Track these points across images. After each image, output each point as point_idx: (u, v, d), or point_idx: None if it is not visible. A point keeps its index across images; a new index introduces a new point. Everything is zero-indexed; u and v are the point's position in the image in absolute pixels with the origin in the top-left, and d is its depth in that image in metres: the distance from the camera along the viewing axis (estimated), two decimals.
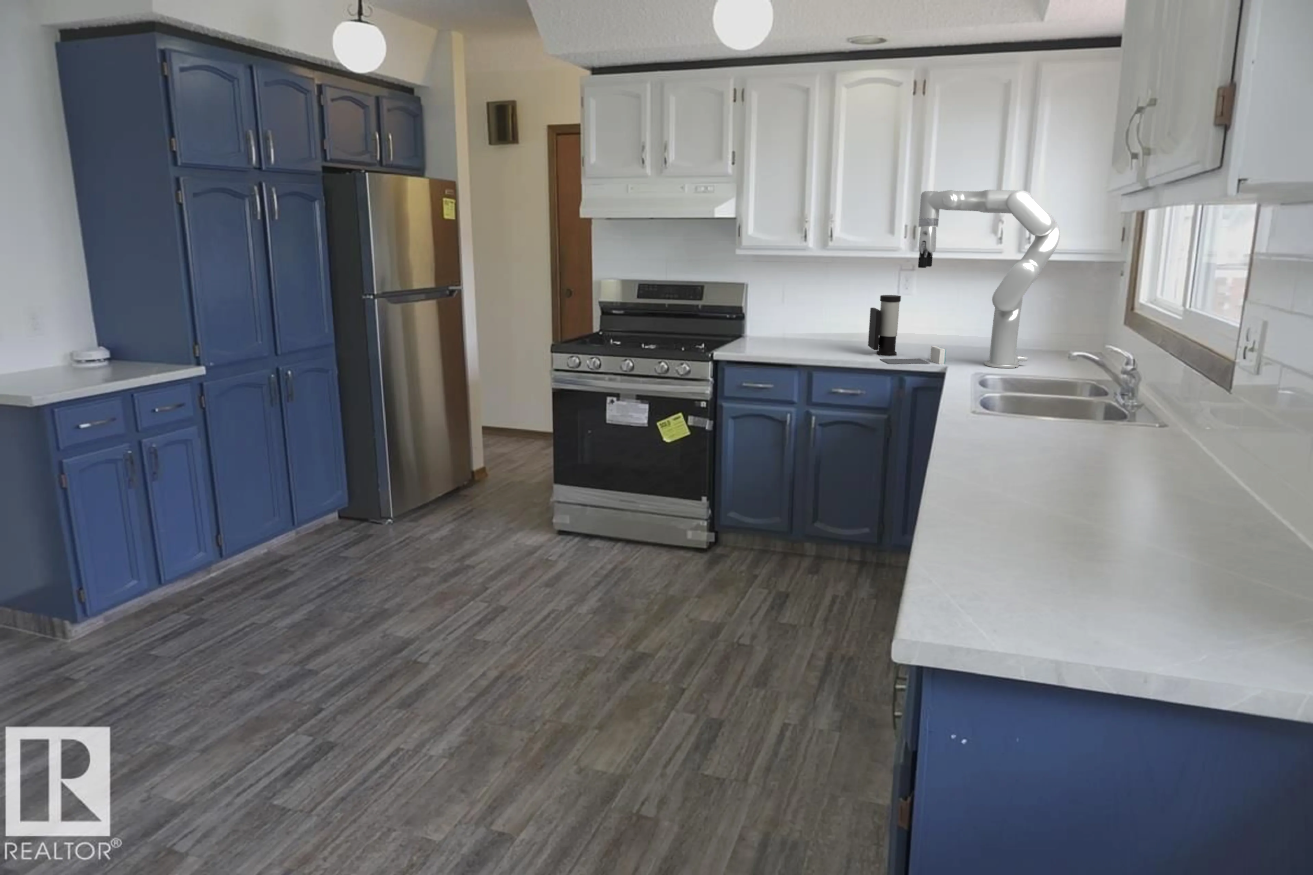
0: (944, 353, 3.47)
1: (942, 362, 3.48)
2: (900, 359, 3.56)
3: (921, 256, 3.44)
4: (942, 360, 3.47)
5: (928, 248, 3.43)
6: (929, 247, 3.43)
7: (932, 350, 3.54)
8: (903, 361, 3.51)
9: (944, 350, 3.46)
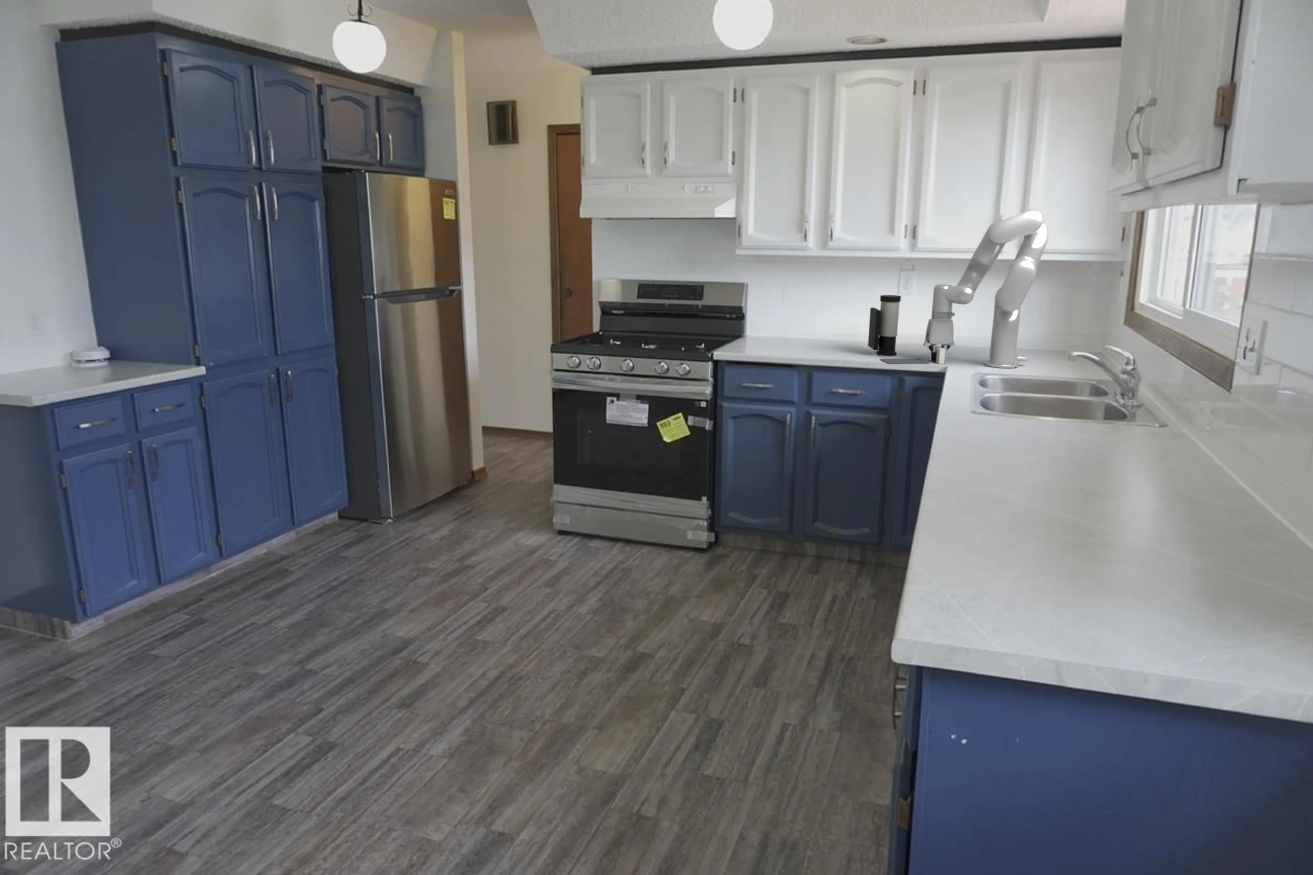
0: (944, 352, 3.47)
1: (942, 362, 3.48)
2: (900, 359, 3.56)
3: None
4: (942, 360, 3.47)
5: None
6: None
7: None
8: (903, 361, 3.51)
9: (944, 350, 3.46)
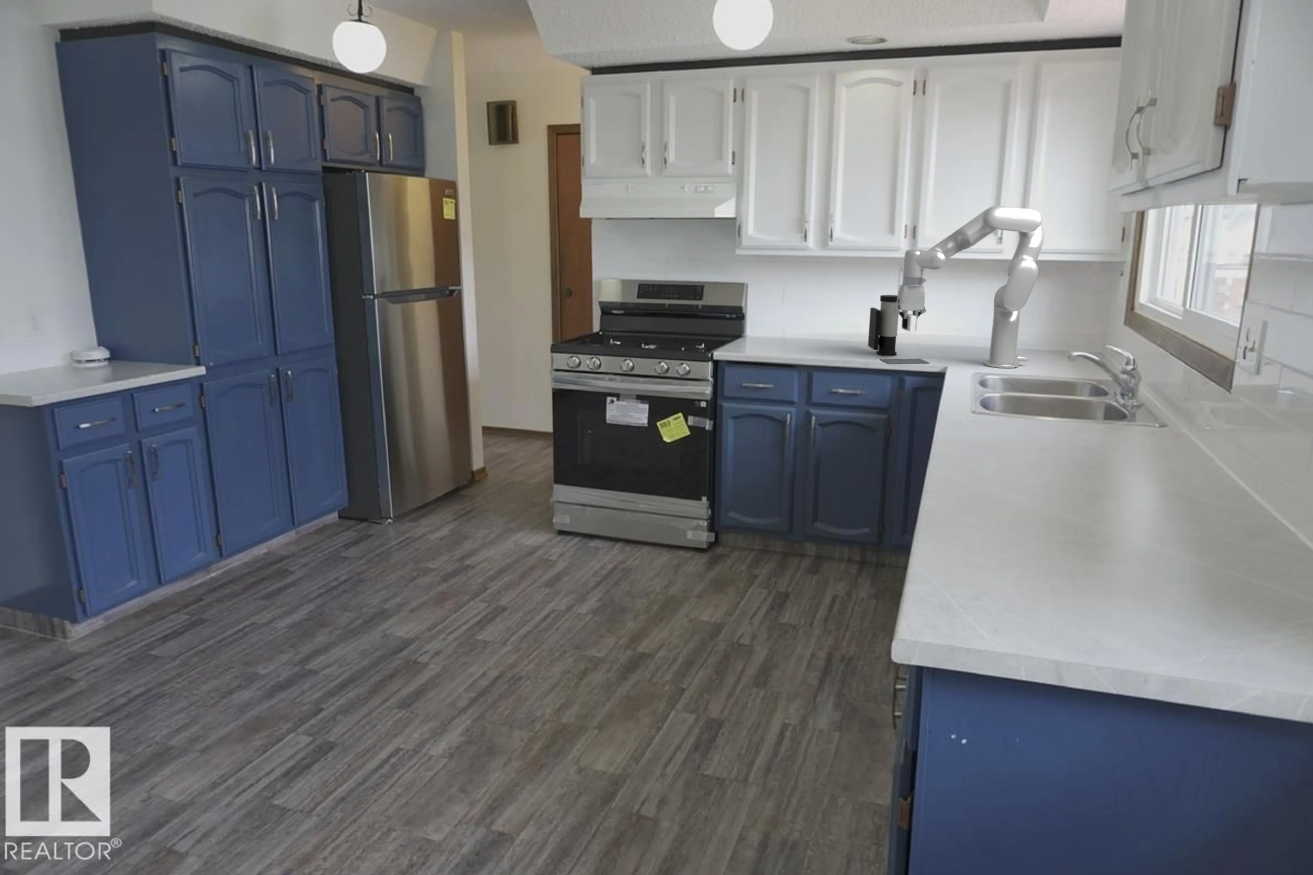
0: (914, 319, 3.42)
1: (913, 329, 3.43)
2: (900, 359, 3.56)
3: None
4: (913, 327, 3.43)
5: None
6: None
7: None
8: (903, 361, 3.51)
9: (915, 317, 3.42)
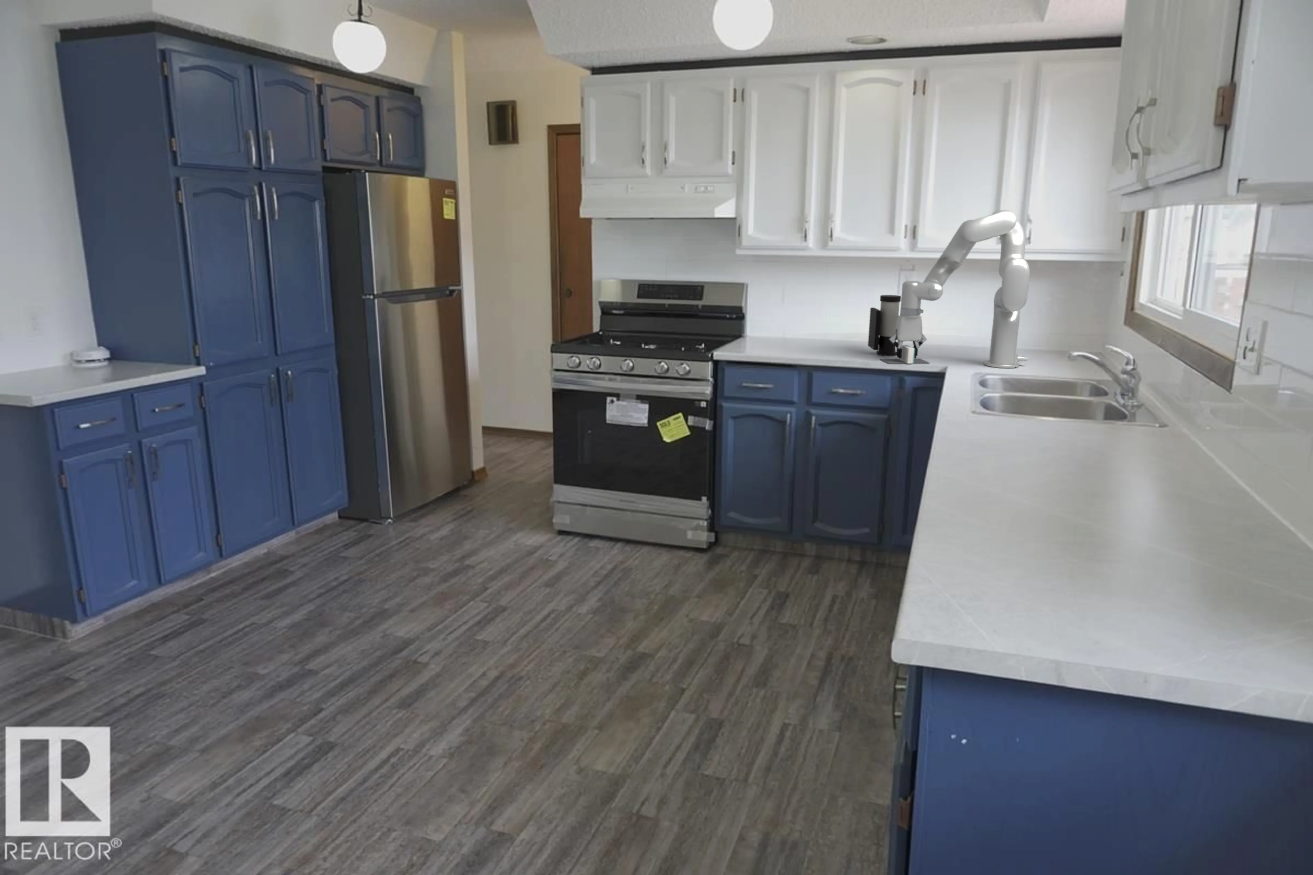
0: (912, 352, 3.45)
1: (911, 361, 3.46)
2: None
3: None
4: (911, 359, 3.46)
5: None
6: None
7: None
8: None
9: (913, 349, 3.45)
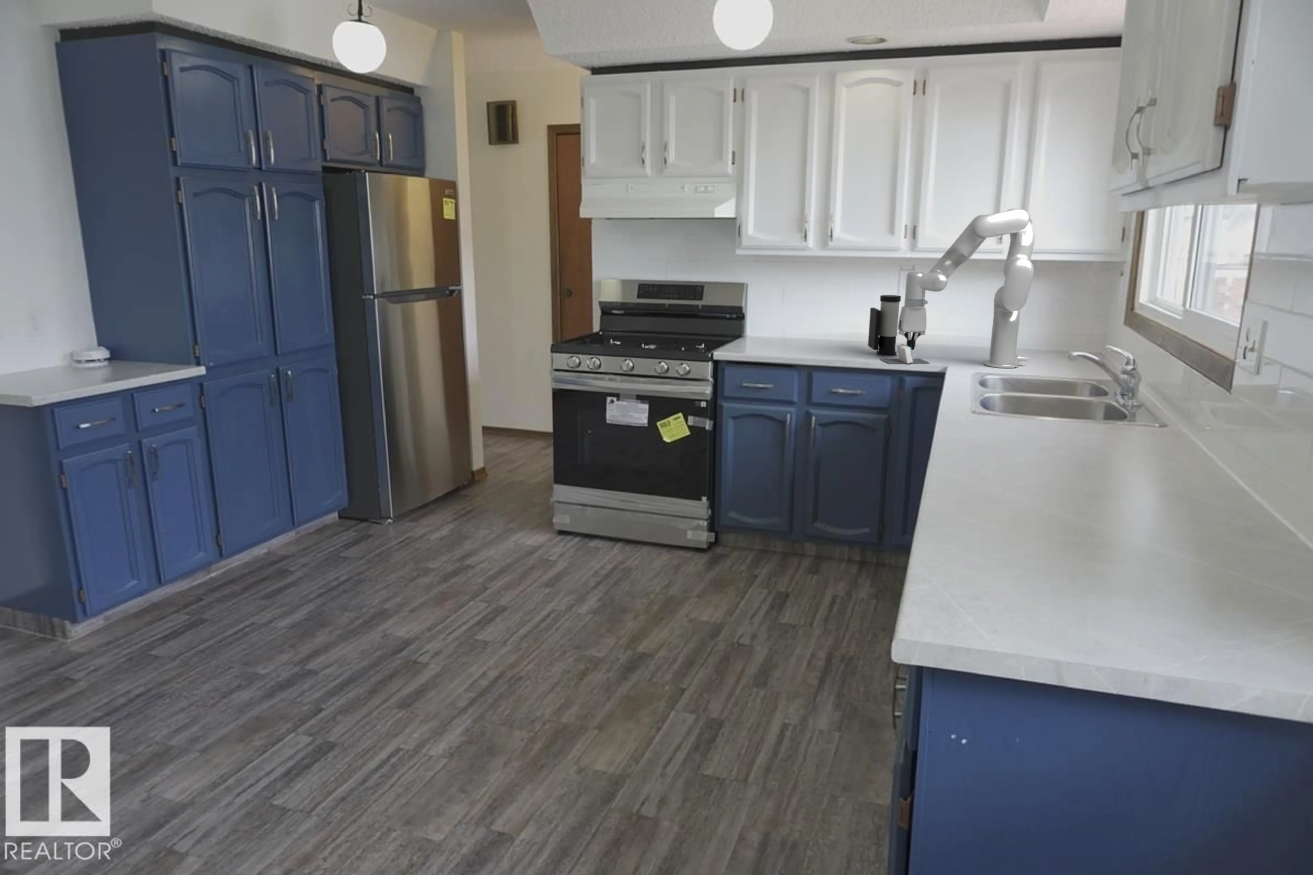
0: (909, 351, 3.45)
1: (910, 360, 3.46)
2: None
3: None
4: (910, 358, 3.46)
5: None
6: None
7: (898, 350, 3.52)
8: None
9: (909, 348, 3.45)
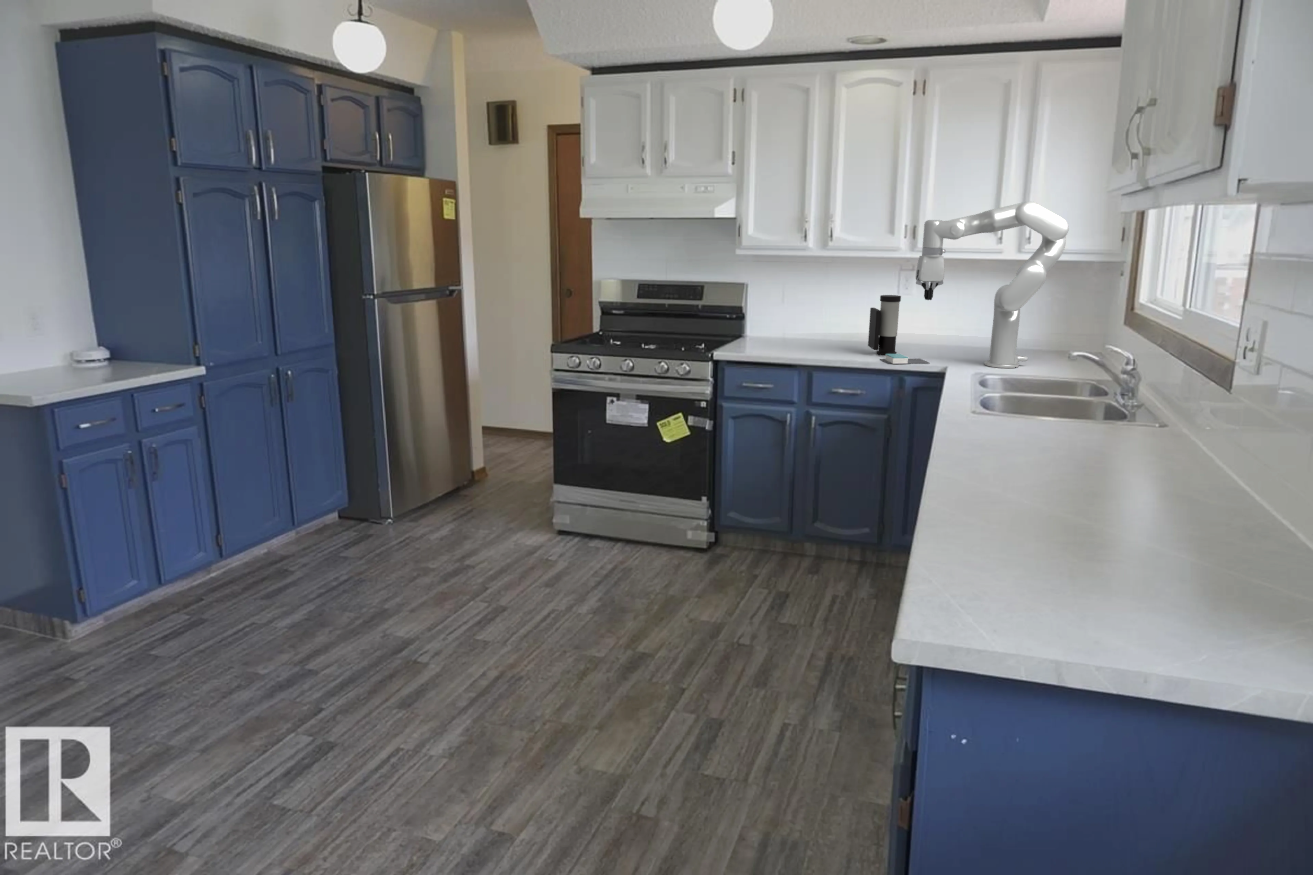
0: (896, 359, 3.45)
1: (905, 360, 3.46)
2: None
3: (933, 289, 3.44)
4: (904, 360, 3.46)
5: None
6: None
7: None
8: None
9: (894, 359, 3.45)
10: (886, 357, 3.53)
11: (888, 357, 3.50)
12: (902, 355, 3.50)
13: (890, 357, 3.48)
